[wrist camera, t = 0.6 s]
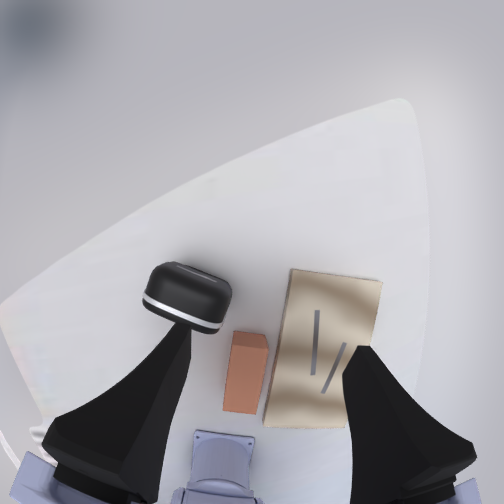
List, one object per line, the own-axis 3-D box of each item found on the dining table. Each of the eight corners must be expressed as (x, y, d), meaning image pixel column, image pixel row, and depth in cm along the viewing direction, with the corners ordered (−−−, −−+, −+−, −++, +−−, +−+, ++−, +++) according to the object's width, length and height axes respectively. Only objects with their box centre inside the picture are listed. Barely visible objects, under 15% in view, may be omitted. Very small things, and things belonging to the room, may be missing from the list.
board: (341, 422, 32) (344, 427, 31) (262, 420, 32) (263, 426, 31) (377, 281, 32) (382, 282, 31) (290, 268, 32) (293, 269, 30)
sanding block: (253, 393, 32) (255, 414, 27) (224, 389, 32) (222, 410, 27) (264, 334, 32) (268, 349, 27) (233, 330, 32) (232, 344, 27)
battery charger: (238, 278, 32) (236, 294, 20) (225, 309, 32) (217, 341, 20) (180, 255, 32) (148, 258, 20) (169, 286, 32) (132, 305, 20)
